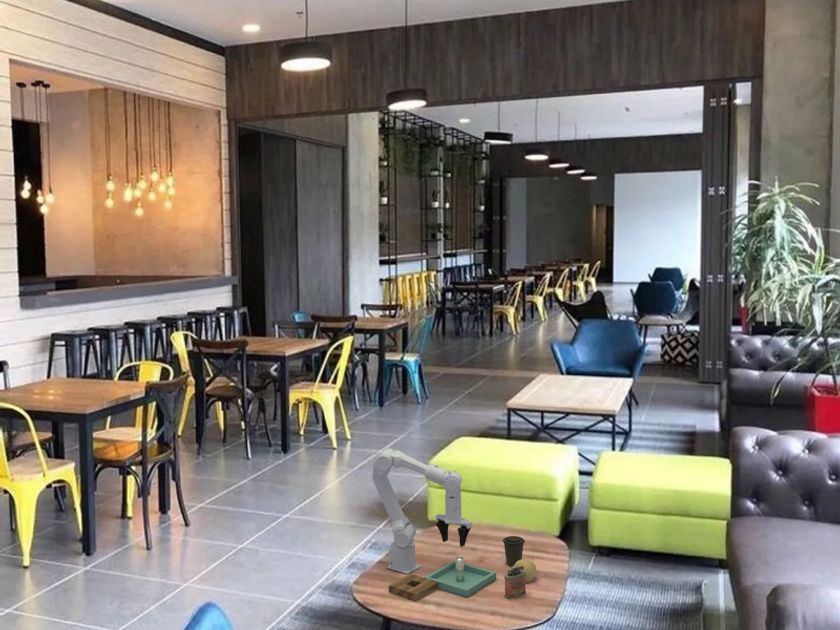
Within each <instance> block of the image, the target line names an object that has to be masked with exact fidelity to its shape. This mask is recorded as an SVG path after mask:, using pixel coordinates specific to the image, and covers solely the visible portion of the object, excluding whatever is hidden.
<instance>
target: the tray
mask: <svg viewBox="0 0 840 630" xmlns="http://www.w3.org/2000/svg"><path fill="white" fill-rule="evenodd" d="M423 577H424V578H427V579H430V580H434V581H437V582H438V589H437V590H441V591H444V592H447V593H450V594H453V595H457V596H460V597H463V598H466V599H467V598H469V597H471V596H473V595H474V594H476V593H478V592H479V591H480V590H482V589H484V588H485V587H487V586H488V584H489V585H490V584H491V582H492V583H494V580H495V581H496V580H497V572H496V571H492V570H489V569H486V568H483V567H478V566H475V565H471V564H467V563H465V562H464V582H456V560H453V561H451V562H450V563H447V564H446V565H444V566H442V567H440V568H439V569H437V570H434V571H433V572H431V573H429V574H428V575H426V576H423Z"/></svg>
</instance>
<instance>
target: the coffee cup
mask: <svg viewBox="0 0 840 630" xmlns="http://www.w3.org/2000/svg"><path fill="white" fill-rule="evenodd" d="M525 542H526V541H525V539H524V538H523V537H522V536H517V535H516V536H515V535H509V536H506V537H504V538H503V539H502V543H503V545H504V555H505V561H506V562H505V563H506V566H507V565H508V567H509V566H511V567H512V566H514V565H515V563H516V562H517V561H519V560H522V559H523V551H524V544H525ZM511 567H510V568H511Z"/></svg>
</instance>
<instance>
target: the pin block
mask: <svg viewBox="0 0 840 630" xmlns="http://www.w3.org/2000/svg"><path fill="white" fill-rule="evenodd" d="M424 577H425V576H420V575H418V574H414V573H408V574H406V575H405V576H403V577H401V578H400V579H398V580H396V581H394V582H392V583H390V584H389V585H388V593H389V592H391V593H390V594H392V593H393V594H392V595H395V594H396V596H399V597H402V598H404V599H408V600H411V601H414V602H418V601H420V600H421V599H423V598H425V597H427V596H429V595H430V594H432V593H434V592H435V591H437V590H439V589H438V582H437V581H434V580H430V579H427V578H424Z"/></svg>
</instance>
